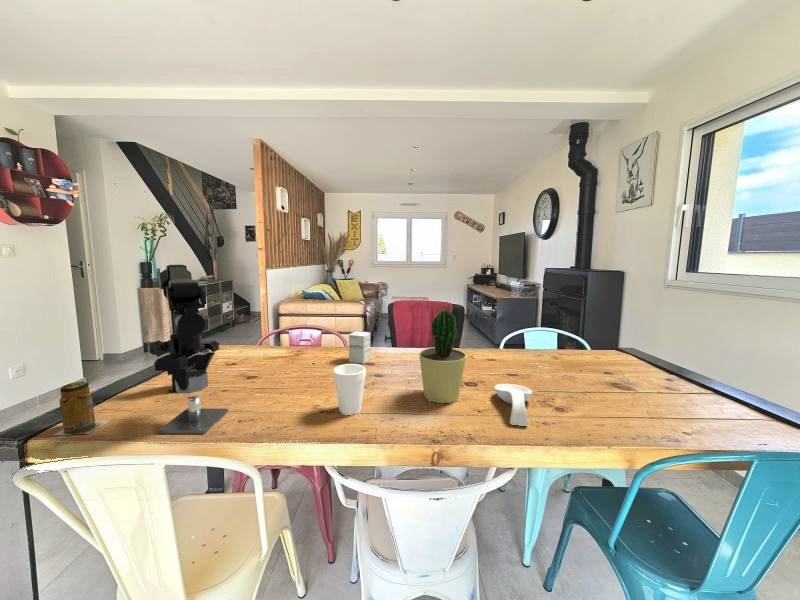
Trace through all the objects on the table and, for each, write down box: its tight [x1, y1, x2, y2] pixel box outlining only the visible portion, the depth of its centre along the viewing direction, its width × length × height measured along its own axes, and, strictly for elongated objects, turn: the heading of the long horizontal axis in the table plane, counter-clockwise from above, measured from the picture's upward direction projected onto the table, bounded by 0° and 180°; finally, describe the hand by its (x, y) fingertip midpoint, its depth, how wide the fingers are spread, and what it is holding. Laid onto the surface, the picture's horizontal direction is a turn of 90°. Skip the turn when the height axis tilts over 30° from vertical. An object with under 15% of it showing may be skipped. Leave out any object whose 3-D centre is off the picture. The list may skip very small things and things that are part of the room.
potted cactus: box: [418, 309, 467, 404], centre depth 106 cm, size 15×15×30 cm
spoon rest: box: [493, 383, 533, 427], centre depth 100 cm, size 24×12×7 cm, turn 168°
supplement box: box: [348, 331, 371, 365], centre depth 142 cm, size 7×7×13 cm
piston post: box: [157, 395, 229, 435], centre depth 89 cm, size 12×12×7 cm
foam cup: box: [333, 363, 367, 416], centre depth 96 cm, size 10×9×13 cm
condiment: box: [53, 381, 111, 436], centre depth 85 cm, size 7×8×12 cm
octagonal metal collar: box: [175, 370, 209, 394], centre depth 88 cm, size 7×7×4 cm
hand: (192, 384), depth 88 cm, fingers closed on octagonal metal collar, 7 cm apart
